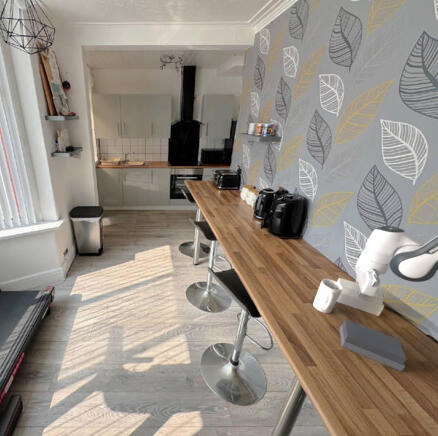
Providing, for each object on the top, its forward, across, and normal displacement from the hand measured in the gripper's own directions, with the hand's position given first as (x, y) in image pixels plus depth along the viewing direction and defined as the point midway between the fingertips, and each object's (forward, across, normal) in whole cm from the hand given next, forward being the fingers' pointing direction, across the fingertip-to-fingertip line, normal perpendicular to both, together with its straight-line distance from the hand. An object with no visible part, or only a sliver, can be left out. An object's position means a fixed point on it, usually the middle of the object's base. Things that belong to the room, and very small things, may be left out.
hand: (358, 291), depth 98 cm
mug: (+6, -14, +12) cm, 19 cm away
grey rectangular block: (+6, -26, -1) cm, 27 cm away
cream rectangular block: (0, 0, 0) cm, 0 cm away
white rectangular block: (+6, 0, 0) cm, 6 cm away
